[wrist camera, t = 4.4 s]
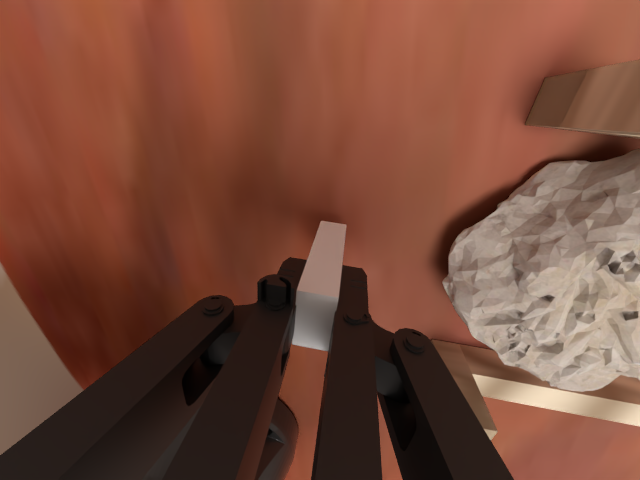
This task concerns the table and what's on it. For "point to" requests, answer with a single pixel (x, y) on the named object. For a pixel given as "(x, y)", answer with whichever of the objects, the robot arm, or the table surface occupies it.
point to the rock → (558, 274)
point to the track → (484, 364)
